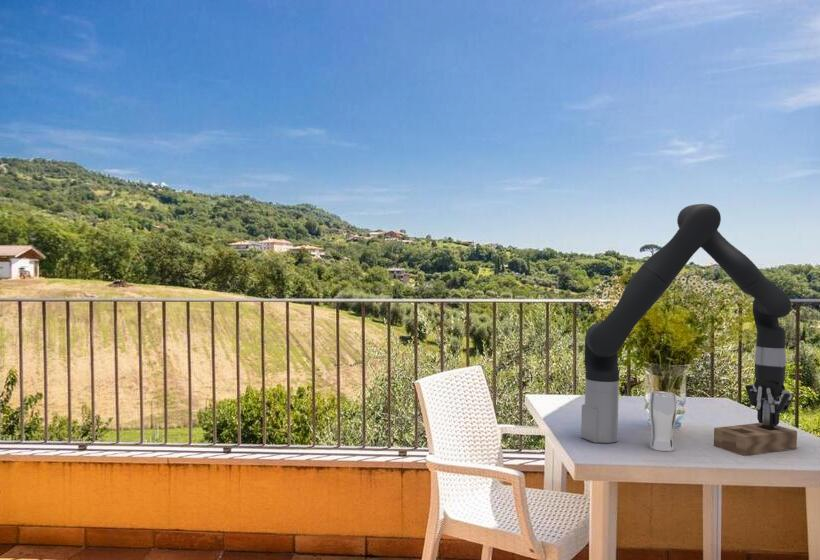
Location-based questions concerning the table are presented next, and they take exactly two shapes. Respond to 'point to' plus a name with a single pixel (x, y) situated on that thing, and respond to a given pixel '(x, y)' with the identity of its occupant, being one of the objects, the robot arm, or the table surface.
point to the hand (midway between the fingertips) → (768, 424)
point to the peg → (766, 415)
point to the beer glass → (662, 420)
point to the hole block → (754, 439)
